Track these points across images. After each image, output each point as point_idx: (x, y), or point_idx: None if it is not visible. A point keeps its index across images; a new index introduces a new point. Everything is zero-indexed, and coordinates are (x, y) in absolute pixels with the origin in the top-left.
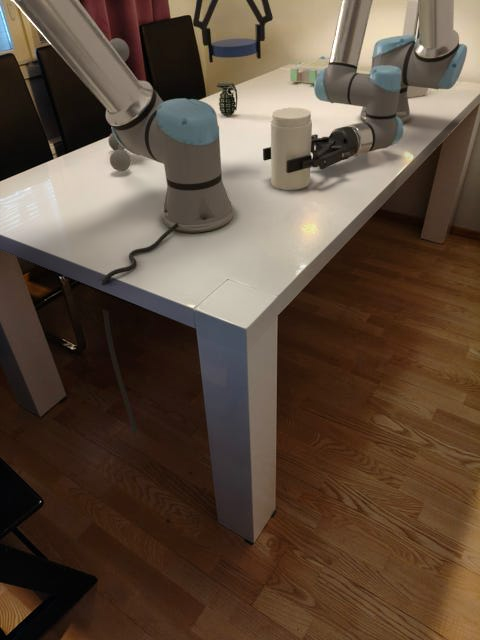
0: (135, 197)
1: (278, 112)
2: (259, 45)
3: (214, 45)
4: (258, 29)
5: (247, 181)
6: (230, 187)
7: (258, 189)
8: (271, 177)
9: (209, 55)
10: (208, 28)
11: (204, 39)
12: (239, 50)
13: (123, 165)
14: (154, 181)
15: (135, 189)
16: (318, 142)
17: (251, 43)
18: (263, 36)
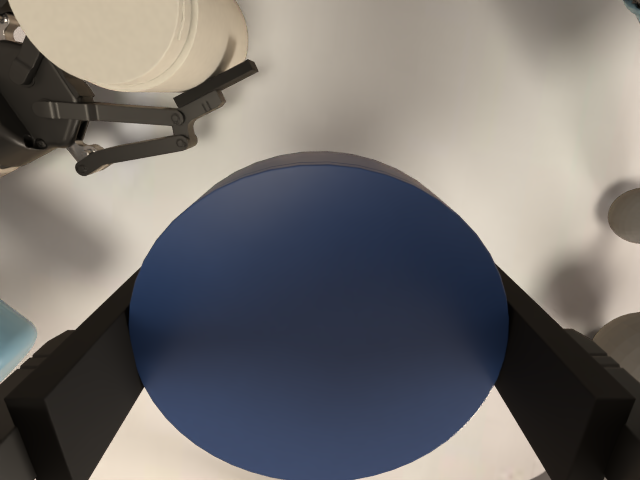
0: (622, 21)
1: (151, 18)
2: (118, 294)
3: (495, 292)
4: (47, 374)
5: (310, 72)
6: (360, 37)
7: (286, 3)
8: (244, 35)
9: (505, 275)
10: (584, 475)
11: (595, 358)
12: (289, 160)
13: (638, 189)
14: (551, 129)
15: (610, 82)
16: (72, 99)
17: (169, 245)
18: (49, 351)
